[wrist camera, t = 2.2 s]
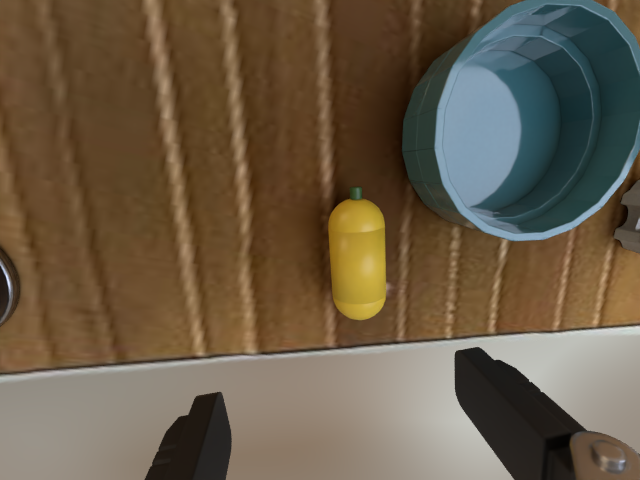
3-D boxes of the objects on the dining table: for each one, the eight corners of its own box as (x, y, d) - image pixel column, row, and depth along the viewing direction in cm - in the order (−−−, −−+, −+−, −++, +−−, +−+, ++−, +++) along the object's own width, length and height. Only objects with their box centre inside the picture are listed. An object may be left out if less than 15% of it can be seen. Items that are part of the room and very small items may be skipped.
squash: (377, 302, 28) (394, 326, 24) (330, 308, 28) (339, 333, 23) (374, 183, 26) (392, 186, 21) (322, 187, 25) (330, 191, 21)
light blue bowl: (423, 248, 28) (461, 270, 22) (377, 70, 24) (409, 39, 18) (576, 192, 28) (653, 198, 22) (557, 9, 24) (644, -41, 18)
